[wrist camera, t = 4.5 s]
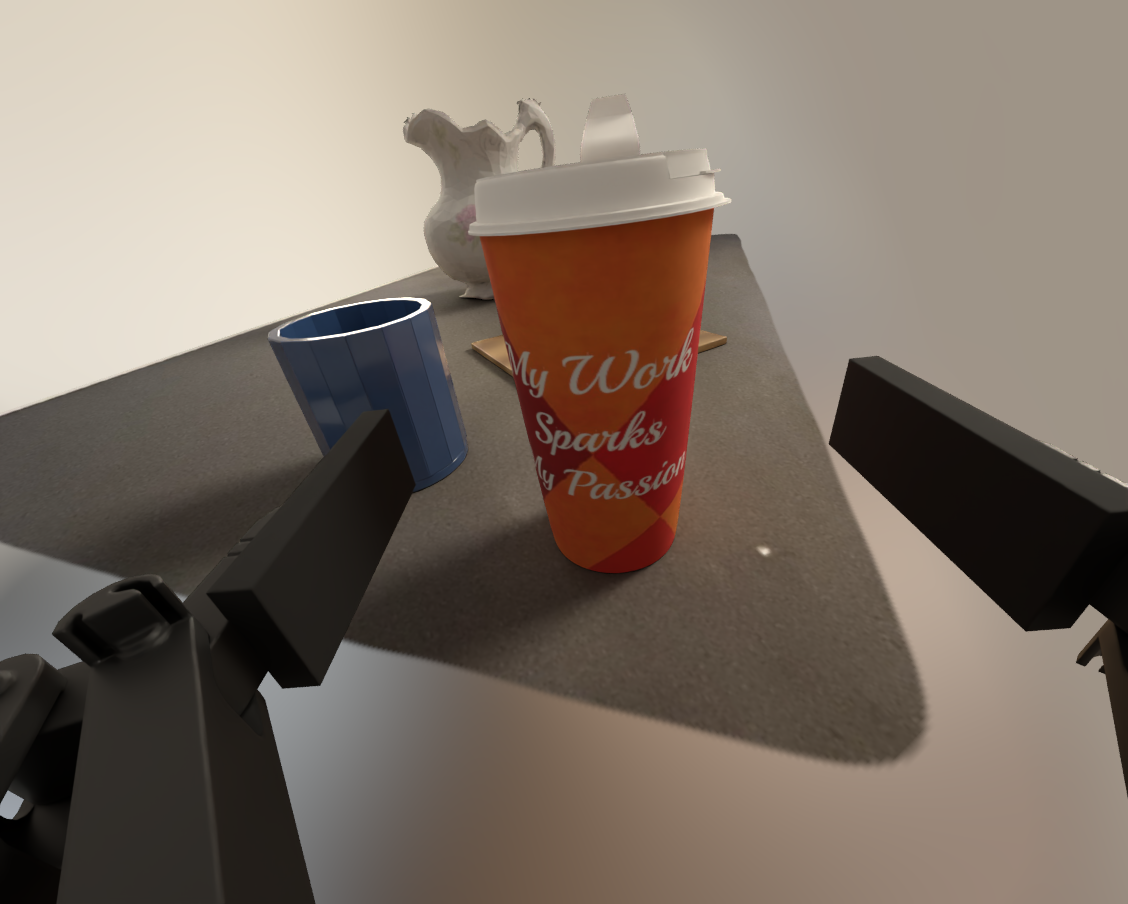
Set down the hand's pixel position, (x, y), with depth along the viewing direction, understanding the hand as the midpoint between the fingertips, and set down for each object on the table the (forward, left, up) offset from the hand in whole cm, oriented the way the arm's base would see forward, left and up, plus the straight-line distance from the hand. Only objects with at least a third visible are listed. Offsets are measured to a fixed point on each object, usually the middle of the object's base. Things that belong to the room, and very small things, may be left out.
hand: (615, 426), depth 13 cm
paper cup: (+3, -2, -8) cm, 8 cm away
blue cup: (+16, +5, -7) cm, 19 cm away
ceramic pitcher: (+61, -21, -8) cm, 65 cm away
